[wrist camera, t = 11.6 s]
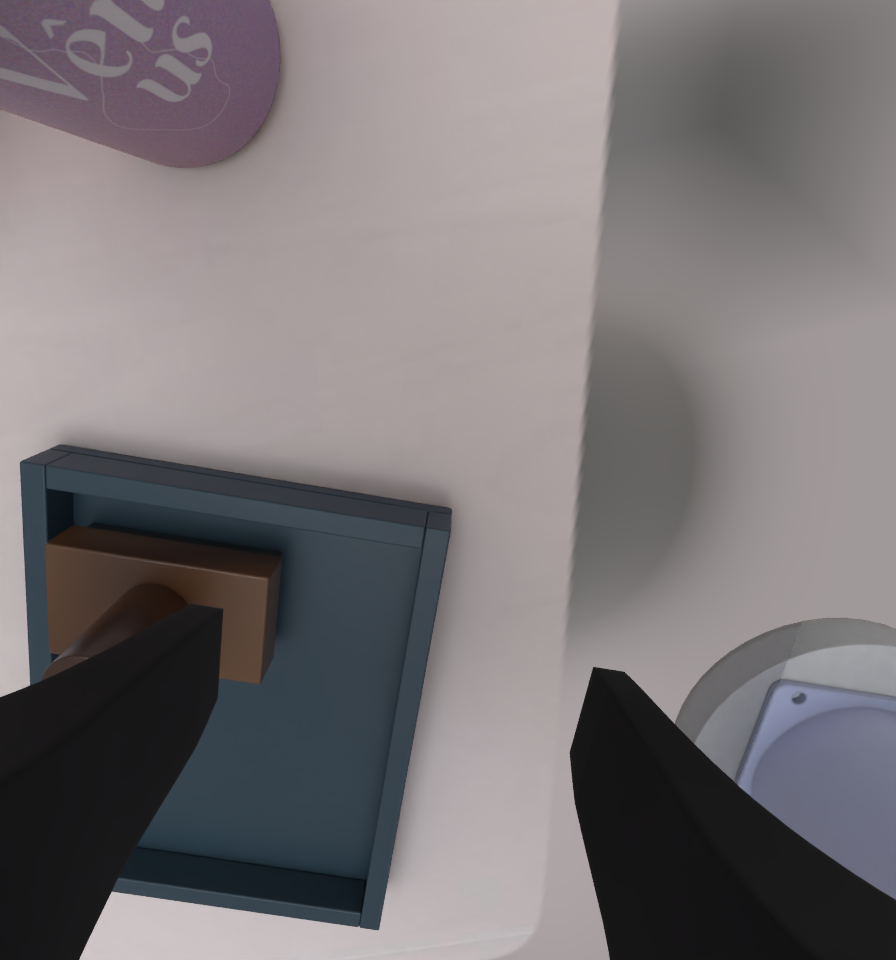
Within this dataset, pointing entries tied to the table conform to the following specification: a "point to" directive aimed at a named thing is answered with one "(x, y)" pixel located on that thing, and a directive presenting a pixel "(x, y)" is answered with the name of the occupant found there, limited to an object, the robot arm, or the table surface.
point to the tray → (274, 681)
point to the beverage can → (143, 72)
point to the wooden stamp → (158, 593)
